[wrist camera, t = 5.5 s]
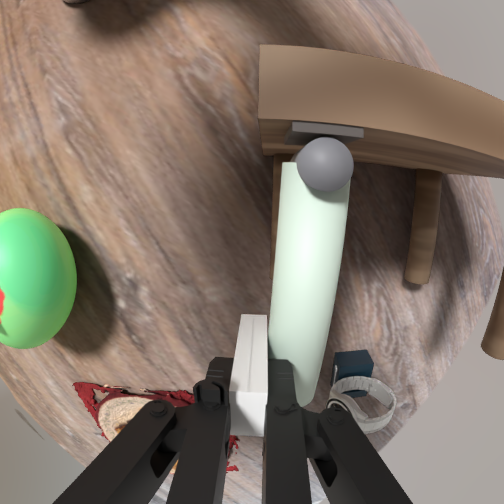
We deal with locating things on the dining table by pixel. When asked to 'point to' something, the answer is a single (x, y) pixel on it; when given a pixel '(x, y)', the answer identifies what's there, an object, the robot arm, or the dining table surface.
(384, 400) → the watch
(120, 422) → the plate with food
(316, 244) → the hinged leg
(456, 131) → the stool
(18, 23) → the dining table surface
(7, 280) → the toy bird
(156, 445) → the robot arm
